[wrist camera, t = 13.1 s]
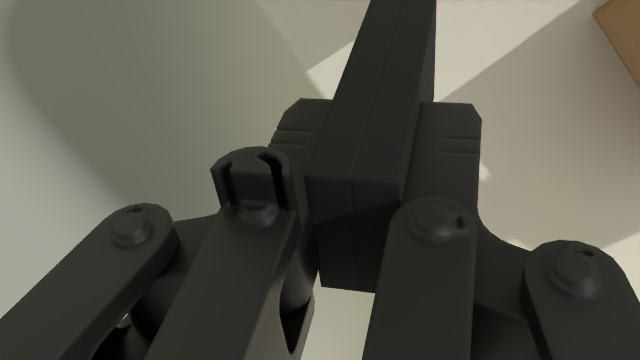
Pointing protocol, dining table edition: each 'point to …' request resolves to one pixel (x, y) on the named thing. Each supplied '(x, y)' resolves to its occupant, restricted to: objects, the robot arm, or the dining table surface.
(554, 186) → the dining table surface
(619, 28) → the carton
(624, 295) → the robot arm
